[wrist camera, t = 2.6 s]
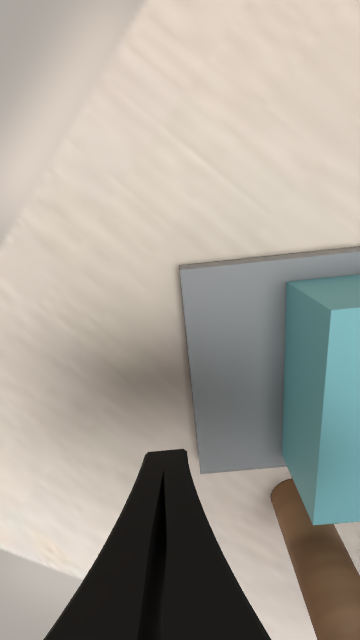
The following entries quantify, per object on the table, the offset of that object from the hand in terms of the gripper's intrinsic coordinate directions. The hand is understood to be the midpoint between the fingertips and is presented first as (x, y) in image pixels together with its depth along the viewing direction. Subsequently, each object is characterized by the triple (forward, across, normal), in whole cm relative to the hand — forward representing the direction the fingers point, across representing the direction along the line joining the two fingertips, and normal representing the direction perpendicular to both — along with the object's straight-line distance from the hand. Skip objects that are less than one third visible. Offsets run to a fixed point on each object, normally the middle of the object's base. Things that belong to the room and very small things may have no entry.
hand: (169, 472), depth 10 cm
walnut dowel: (+6, -7, +10) cm, 14 cm away
